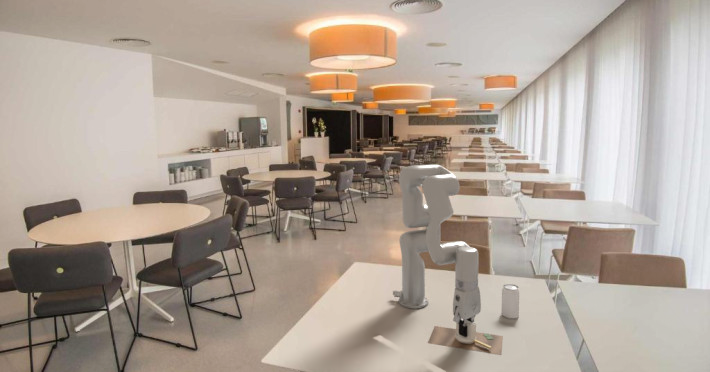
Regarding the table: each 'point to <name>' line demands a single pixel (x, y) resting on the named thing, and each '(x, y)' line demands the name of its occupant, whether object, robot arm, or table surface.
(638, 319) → the table surface
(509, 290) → the can
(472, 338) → the knob
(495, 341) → the dial board
